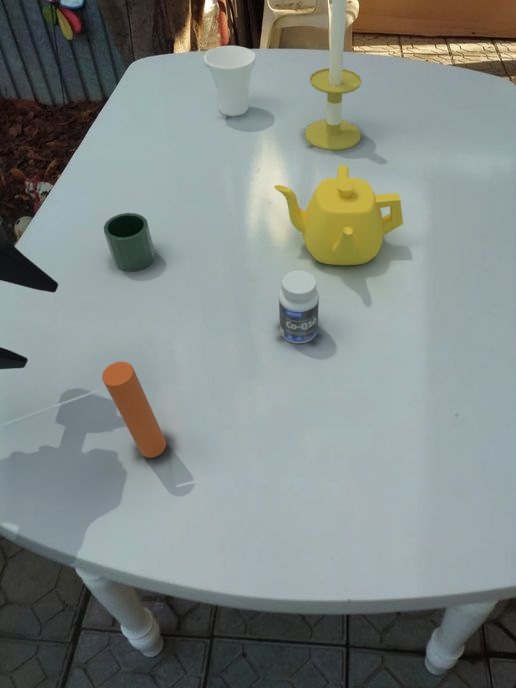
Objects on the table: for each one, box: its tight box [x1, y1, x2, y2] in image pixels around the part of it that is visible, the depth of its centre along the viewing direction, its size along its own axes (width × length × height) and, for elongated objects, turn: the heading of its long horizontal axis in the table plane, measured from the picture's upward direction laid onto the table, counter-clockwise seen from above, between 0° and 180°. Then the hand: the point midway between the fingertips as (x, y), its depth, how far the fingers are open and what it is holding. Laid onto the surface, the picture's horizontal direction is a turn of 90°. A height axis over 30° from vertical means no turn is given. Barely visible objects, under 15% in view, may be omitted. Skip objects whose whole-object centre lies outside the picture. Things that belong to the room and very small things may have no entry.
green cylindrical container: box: [103, 212, 156, 272], centre depth 79 cm, size 6×6×6 cm
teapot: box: [274, 164, 404, 266], centre depth 81 cm, size 14×13×10 cm
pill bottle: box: [278, 270, 320, 344], centre depth 70 cm, size 5×5×8 cm
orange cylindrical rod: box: [101, 361, 167, 459], centre depth 57 cm, size 3×3×12 cm
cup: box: [203, 45, 257, 117], centre depth 105 cm, size 9×9×10 cm
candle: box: [304, 0, 362, 151], centre depth 93 cm, size 10×10×27 cm
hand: (42, 323), depth 53 cm, fingers open, 9 cm apart
